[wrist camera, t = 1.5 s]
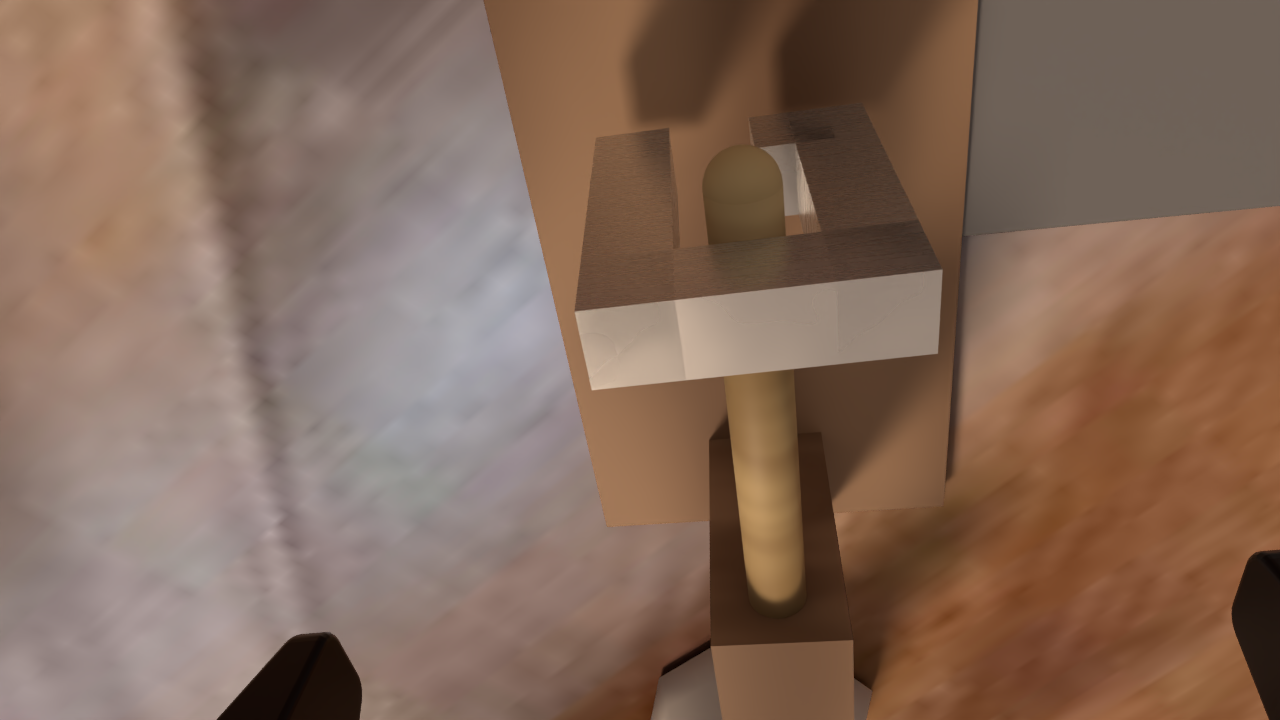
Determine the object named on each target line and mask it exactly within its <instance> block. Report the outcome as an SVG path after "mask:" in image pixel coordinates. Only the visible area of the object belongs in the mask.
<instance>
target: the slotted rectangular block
mask: <svg viewBox="0 0 1280 720" xmlns="http://www.w3.org/2000/svg"><path fill="white" fill-rule="evenodd" d="M749 130H750V143H751V145H752V146H756V147H758V148H760V149H762V150H764V151H766V152H767V153H768V154H769V155H771V156H772V157H773V159H774V160H775V161H776V163H777V164H778V166H779V169H780V171H781V174H782V180H783V194H784V211H785V216H790V215H798V214H799V218H800V221H801V225H802V229H803V233H804V234H797V235H789V236H781V237H772V238H764V239H755V240H747V241H739V242H730V243H722V244H713V245H705V246H697V247H688V248H680V232H679V211H678V193H677V185H676V178H675V170H674V162H673V155H672V147H671V139H670V132H669V128H665V129H658V130H650V131H642V132H635V133H627V134H620V135H612V136H604V137H597V138H596V141H595V149H594V157H593V165H592V173H591V181H590V190H589V198H588V206H587V214H586V222H585V230H584V238H583V246H582V254H581V262H580V270H579V279H578V287H577V295H576V303H575V311H574V312H575V316H576V321H577V326H578V330H579V335H580V339H581V344H582V348H583V353H584V357H585V362H586V366H587V371H588V375H589V380H590V384H591V389H592V390H600V389H609V388H618V387H628V386H637V385H647V384H656V383H666V382H675V381H685V380H694V379H703V378H713V377H722V376H732V375H741V374H751V373H760V372H770V371H779V370H788V369H798V368H807V367H817V366H826V365H836V364H845V363H854V362H864V361H873V360H883V359H892V358H902V357H911V356H921V355H930V354H938V344H939V326H940V308H941V290H942V272H943V269H942V267H941V265H940V263H939V261H938V259H937V257H936V255H935V253H934V251H933V249H932V247H931V244H930V242H929V240H928V238H927V236H926V234H925V232H924V230H923V228H922V226H921V224H920V222H919V220H918V218H917V215H916V213H915V211H914V209H913V207H912V205H911V203H910V201H909V199H908V197H907V195H906V193H905V191H904V189H903V186H902V184H901V182H900V180H899V178H898V176H897V174H896V172H895V170H894V168H893V166H892V164H891V162H890V160H889V158H888V155H887V153H886V151H885V149H884V147H883V145H882V143H881V141H880V139H879V137H878V135H877V133H876V131H875V129H874V126H873V124H872V122H871V120H870V118H869V116H868V114H867V112H866V110H865V108H864V106H863V104H862V103H855V104H848V105H840V106H833V107H825V108H817V109H810V110H802V111H795V112H787V113H779V114H772V115H764V116H757V117H749Z"/></svg>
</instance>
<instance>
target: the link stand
mask: <svg viewBox="0 0 1280 720" xmlns="http://www.w3.org/2000/svg"><path fill="white" fill-rule="evenodd" d="M484 4H485V8H486V13H487V17H488V21H489V25H490V30H491V34H492V38H493V42H494V47H495V51H496V55H497V59H498V64H499V68H500V72H501V77H502V81H503V85H504V89H505V94H506V98H507V102H508V106H509V111H510V115H511V119H512V124H513V128H514V132H515V136H516V141H517V145H518V149H519V153H520V158H521V162H522V166H523V170H524V175H525V179H526V183H527V188H528V192H529V196H530V200H531V205H532V209H533V213H534V217H535V222H536V226H537V230H538V234H539V239H540V243H541V247H542V252H543V256H544V260H545V264H546V269H547V273H548V277H549V281H550V286H551V290H552V294H553V299H554V303H555V307H556V311H557V316H558V320H559V324H560V328H561V333H562V337H563V341H564V345H565V350H566V354H567V358H568V363H569V367H570V371H571V375H572V380H573V384H574V388H575V392H576V397H577V401H578V405H579V409H580V414H581V418H582V422H583V427H584V431H585V435H586V439H587V444H588V448H589V452H590V456H591V461H592V465H593V469H594V473H595V478H596V482H597V486H598V491H599V495H600V499H601V503H602V508H603V512H604V516H605V520H606V525H607V527H613V526H629V525H646V524H662V523H679V522H695V521H710V616H711V651H712V657H713V664H714V670H715V676H716V683H717V689H718V695H719V702H720V708H721V715H722V720H854V659H853V635H852V629H851V622H850V616H849V609H848V603H847V597H846V590H845V584H844V577H843V571H842V564H841V558H840V551H839V545H838V538H837V532H836V525H835V519H834V513H844V512H860V511H877V510H893V509H909V508H926V507H942V506H944V492H945V478H946V463H947V449H948V434H949V419H950V405H951V390H952V375H953V361H954V346H955V331H956V317H957V302H958V288H959V273H960V258H961V244H962V229H963V214H964V200H965V185H966V170H967V156H968V141H969V126H970V112H971V97H972V83H973V68H974V53H975V39H976V24H977V9H978V0H484ZM855 103H862V104H863V106H864V108H865V110H866V112H867V114H868V116H869V118H870V120H871V122H872V124H873V126H874V129H875V131H876V133H877V135H878V137H879V139H880V141H881V143H882V145H883V147H884V149H885V151H886V153H887V155H888V158H889V160H890V162H891V164H892V166H893V168H894V170H895V172H896V174H897V176H898V178H899V180H900V182H901V184H902V186H903V189H904V191H905V193H906V195H907V197H908V199H909V201H910V203H911V205H912V207H913V209H914V211H915V213H916V215H917V218H918V220H919V222H920V224H921V226H922V228H923V230H924V232H925V234H926V236H927V238H928V240H929V242H930V244H931V247H932V249H933V251H934V253H935V255H936V257H937V259H938V261H939V263H940V265H941V267H942V269H943V272H942V290H941V308H940V326H939V344H938V354H930V355H921V356H911V357H902V358H892V359H883V360H873V361H864V362H854V363H845V364H836V365H826V366H817V367H807V368H798V369H788V370H779V371H770V372H760V373H751V374H741V375H732V376H722V377H713V378H703V379H694V380H685V381H675V382H666V383H656V384H647V385H637V386H628V387H618V388H609V389H600V390H592V389H591V384H590V380H589V375H588V371H587V366H586V362H585V357H584V353H583V348H582V344H581V339H580V335H579V330H578V326H577V321H576V316H575V312H574V311H575V303H576V295H577V287H578V279H579V270H580V262H581V254H582V246H583V238H584V230H585V222H586V214H587V206H588V198H589V190H590V181H591V173H592V165H593V157H594V149H595V141H596V138H597V137H604V136H612V135H620V134H627V133H635V132H642V131H650V130H658V129H665V128H669V132H670V139H671V147H672V155H673V162H674V170H675V178H676V185H677V193H678V211H679V232H680V248H688V247H697V246H705V245H713V244H722V243H730V242H739V241H747V240H755V239H764V238H772V237H781V236H789V235H797V234H804V233H803V229H802V225H801V221H800V218H799V214H798V215H790V216H785V211H784V194H783V180H782V174H781V171H780V169H779V166H778V164H777V163H776V161H775V160H774V159H773V157H772V156H771V155H769V154H768V153H767V152H766V151H764V150H762V149H760V148H758V147H756V146H752V145H751V143H750V130H749V117H757V116H764V115H772V114H779V113H787V112H795V111H802V110H810V109H817V108H825V107H833V106H840V105H848V104H855Z"/></svg>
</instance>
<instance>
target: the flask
mask: <svg viewBox="0 0 1280 720" xmlns="http://www.w3.org/2000/svg"><path fill="white" fill-rule="evenodd" d="M871 695H872V690H870V689H869V688H867V687H866V686H864V685H863V684H862V683H860V682H859V681H857V680H856V679H854V720H866V718H867V713H868V709H869V704H870V700H871ZM651 720H722V715H721V708H720V702H719V695H718V689H717V683H716V676H715V670H714V664H713V657H712V651H711V648H709V649H707V650H706V651H704V652H702V653H701V654H699V655H697V656H696V657H694V658H692V659H690V660H689V661H687V662H685V663H684V664H682V665H680V666H679V667H677V668H675V669H673V670H672V671H670V672H668V673H667V674H665V675H663V676H661V677H660V678H659V682H658V687H657V692H656V697H655V702H654V707H653V712H652V717H651Z"/></svg>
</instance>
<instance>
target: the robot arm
mask: <svg viewBox="0 0 1280 720" xmlns="http://www.w3.org/2000/svg"><path fill="white" fill-rule="evenodd" d="M1232 622H1233V627H1234V630H1235V633H1236V636H1237V639H1238V641H1239V644H1240V646H1241V649H1242V652H1243V654H1244V657H1245V659H1246V662H1247V664H1248V667H1249V670H1250V672H1251V675H1252V677H1253V680H1254V682H1255V685H1256V688H1257V690H1258V693H1259V695H1260V698H1261V700H1262V703H1263V706H1264V708H1265V711H1266V713H1267V716H1268V718H1269V720H1280V550H1270V551H1260V552H1256V553H1254V554H1253V555H1252V556H1251V557H1250V558H1249V559H1248V561H1247V564H1246V567H1245V570H1244V573H1243V575H1242V578H1241V581H1240V584H1239V587H1238V590H1237V593H1236V596H1235V599H1234V602H1233V606H1232ZM361 703H362V687H361V682H360V678H359V676H358V674H357V672H356V670H355V668H354V667H353V665H352V663H351V661H350V660H349V658H348V656H347V654H346V652H345V651H344V649H343V647H342V645H341V644H340V642H339V640H338V639H337V637H336V636H335V635H333V634H331V633H330V632H321V633H309V634H300V635H296V636H294V637H292V638H291V639H289V640H288V641H287V642H286V643H285V644H284V645H283V646H282V647H281V648H280V649H279V651H278V652H277V653H276V654H275V655H274V656H273V657H272V658H271V659H270V661H269V662H268V663H267V664H266V665H265V666H264V667H263V668H262V670H261V671H260V672H259V673H258V674H257V675H256V676H255V677H254V678H253V680H252V681H251V682H250V683H249V684H248V685H247V686H246V687H245V688H244V690H243V691H242V692H241V693H240V694H239V695H238V696H237V697H236V699H235V700H234V701H233V702H232V703H231V704H230V705H229V706H228V707H227V709H226V710H225V711H224V712H223V713H222V714H221V715H220V716H219V717H218V719H217V720H359V719H360V711H361Z"/></svg>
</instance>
